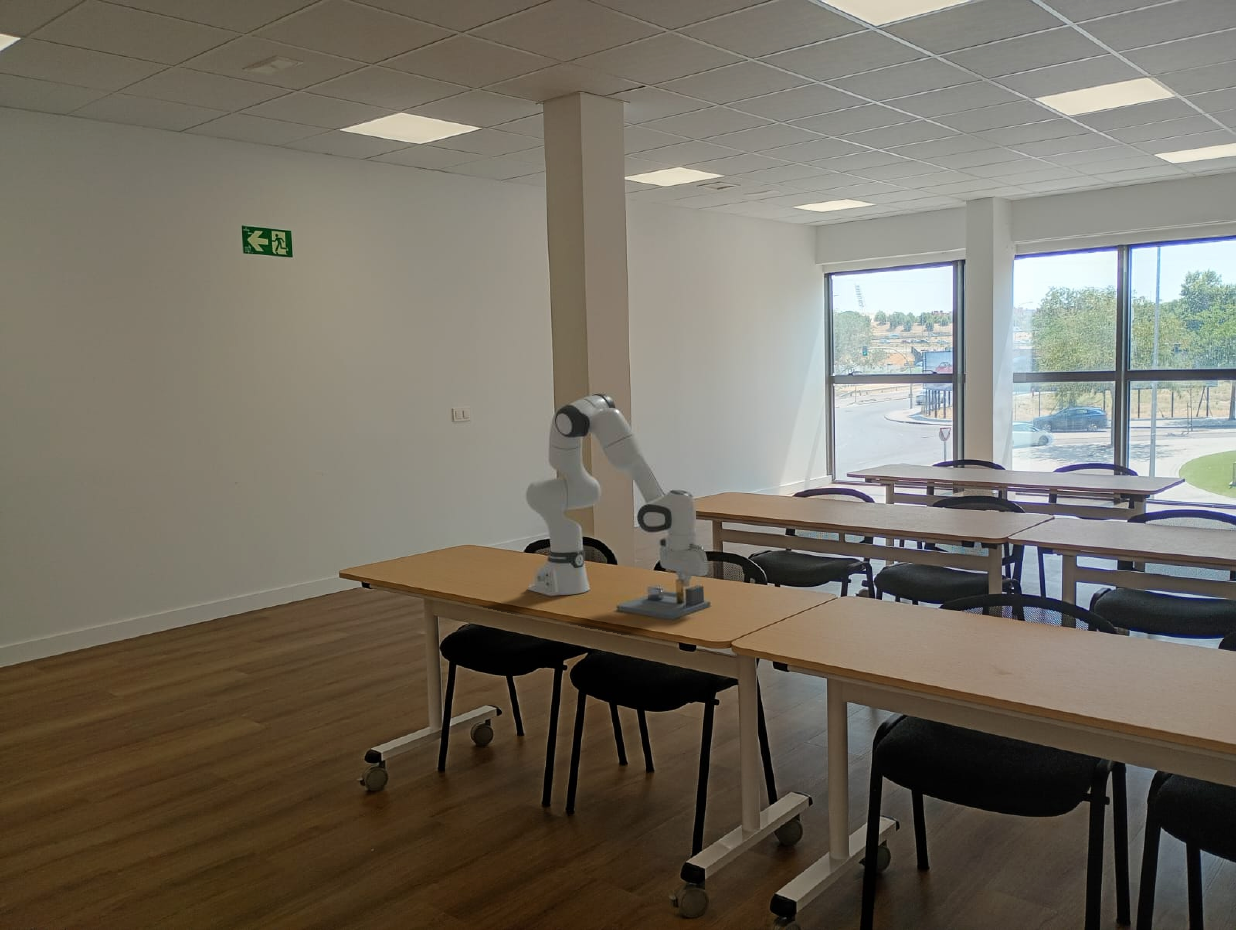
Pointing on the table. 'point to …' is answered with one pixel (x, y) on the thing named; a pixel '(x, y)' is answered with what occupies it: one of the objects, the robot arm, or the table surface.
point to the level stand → (668, 605)
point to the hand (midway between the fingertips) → (684, 585)
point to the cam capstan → (667, 592)
